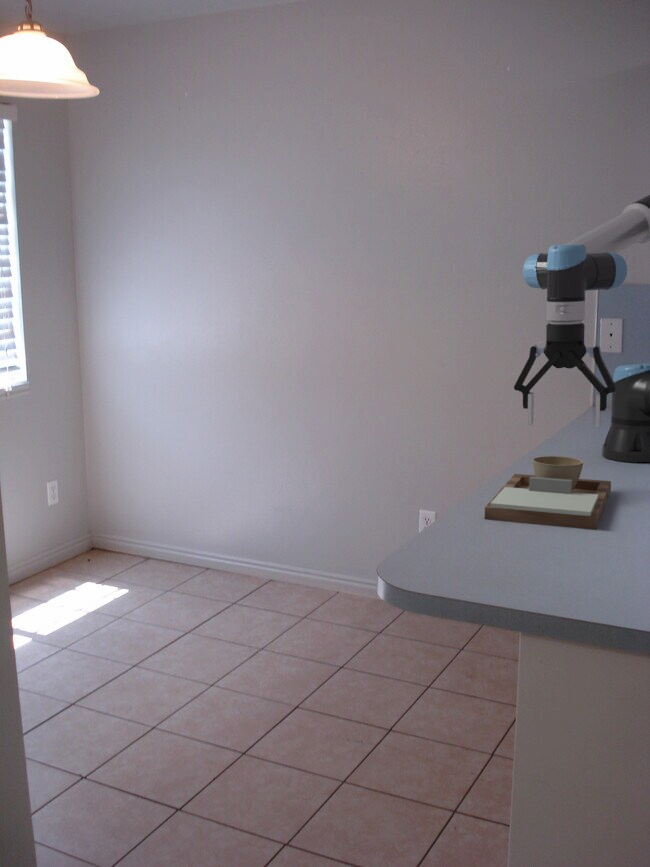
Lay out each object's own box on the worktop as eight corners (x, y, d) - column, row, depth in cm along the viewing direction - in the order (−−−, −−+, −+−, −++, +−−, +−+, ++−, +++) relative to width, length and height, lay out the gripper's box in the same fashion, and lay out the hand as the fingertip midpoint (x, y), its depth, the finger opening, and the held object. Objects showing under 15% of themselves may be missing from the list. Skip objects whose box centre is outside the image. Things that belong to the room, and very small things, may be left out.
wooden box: (514, 483, 205) (514, 473, 205) (610, 491, 198) (610, 481, 197) (484, 518, 177) (484, 507, 176) (595, 529, 169) (596, 517, 169)
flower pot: (583, 501, 188) (584, 466, 186) (531, 499, 190) (532, 464, 188) (580, 490, 197) (581, 456, 196) (531, 487, 199) (532, 454, 198)
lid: (504, 490, 189) (505, 474, 188) (598, 498, 182) (598, 481, 182) (490, 507, 176) (491, 490, 175) (590, 516, 170) (591, 498, 169)
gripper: (500, 324, 193) (500, 426, 197) (628, 323, 184) (625, 430, 188) (506, 320, 199) (506, 419, 204) (631, 320, 191) (628, 423, 195)
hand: (563, 425), depth 196 cm, fingers open, 13 cm apart
